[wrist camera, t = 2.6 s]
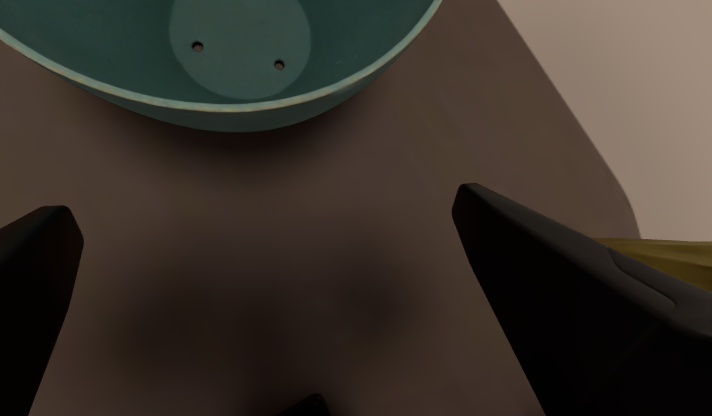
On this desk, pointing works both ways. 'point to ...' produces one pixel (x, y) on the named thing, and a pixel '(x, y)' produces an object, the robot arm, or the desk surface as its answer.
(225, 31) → the teal bowl
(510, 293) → the robot arm
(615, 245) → the vase
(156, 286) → the desk surface
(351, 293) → the desk surface
